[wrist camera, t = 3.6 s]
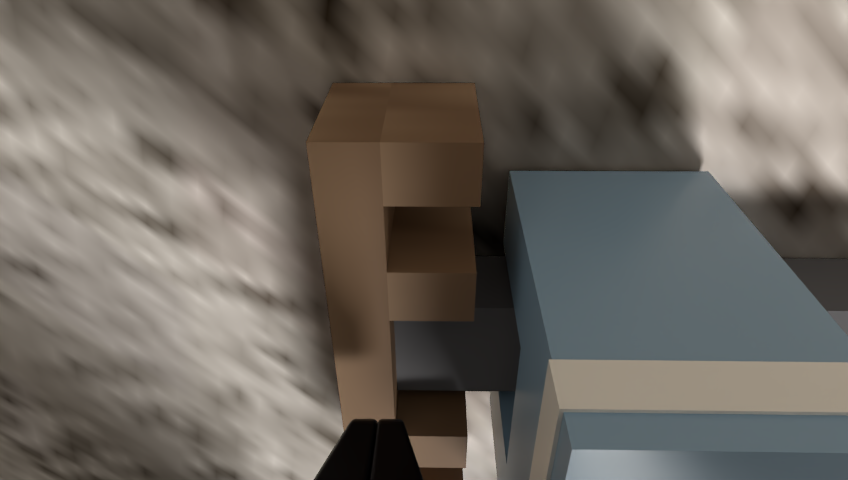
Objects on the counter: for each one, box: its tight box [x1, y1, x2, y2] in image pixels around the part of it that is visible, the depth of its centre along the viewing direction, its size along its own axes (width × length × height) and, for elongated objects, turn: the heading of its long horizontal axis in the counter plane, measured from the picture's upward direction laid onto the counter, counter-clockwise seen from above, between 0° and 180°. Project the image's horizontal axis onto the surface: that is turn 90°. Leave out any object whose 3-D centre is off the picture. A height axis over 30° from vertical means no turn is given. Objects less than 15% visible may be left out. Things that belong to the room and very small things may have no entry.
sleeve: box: [490, 171, 848, 480], centre depth 10 cm, size 4×6×6 cm, turn 0°
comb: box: [306, 83, 484, 480], centre depth 11 cm, size 2×9×2 cm, turn 0°
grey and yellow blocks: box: [394, 256, 848, 391], centre depth 11 cm, size 16×4×4 cm, turn 90°
